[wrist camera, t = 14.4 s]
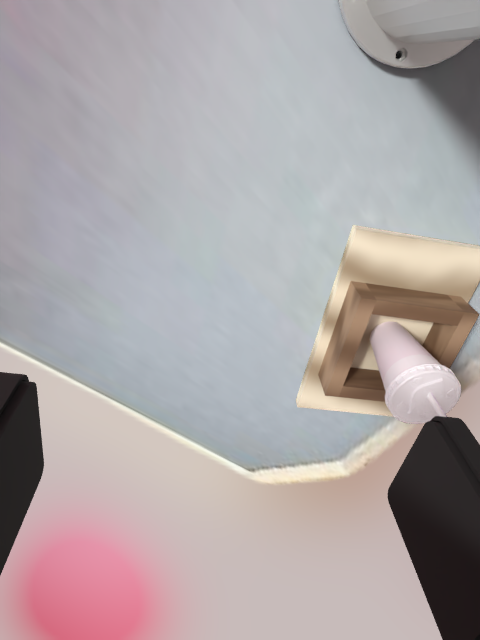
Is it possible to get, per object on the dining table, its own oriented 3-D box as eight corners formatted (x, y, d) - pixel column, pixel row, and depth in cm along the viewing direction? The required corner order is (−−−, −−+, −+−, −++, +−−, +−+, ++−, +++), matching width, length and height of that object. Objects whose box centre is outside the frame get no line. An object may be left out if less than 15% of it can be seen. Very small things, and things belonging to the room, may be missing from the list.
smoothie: (429, 321, 44) (508, 420, 32) (394, 366, 47) (454, 471, 35) (378, 301, 42) (441, 398, 30) (345, 349, 45) (391, 453, 34)
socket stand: (352, 225, 39) (368, 243, 35) (488, 247, 41) (517, 267, 37) (295, 400, 50) (302, 429, 46) (403, 410, 52) (419, 439, 48)
